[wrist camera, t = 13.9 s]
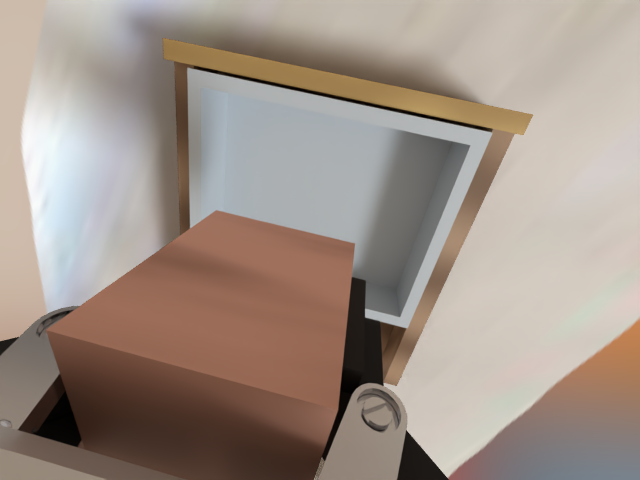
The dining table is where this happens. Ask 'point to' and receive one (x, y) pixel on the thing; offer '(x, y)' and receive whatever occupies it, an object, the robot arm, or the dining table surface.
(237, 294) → the block
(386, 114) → the grey tray
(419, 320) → the bay
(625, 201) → the dining table surface
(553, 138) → the dining table surface
